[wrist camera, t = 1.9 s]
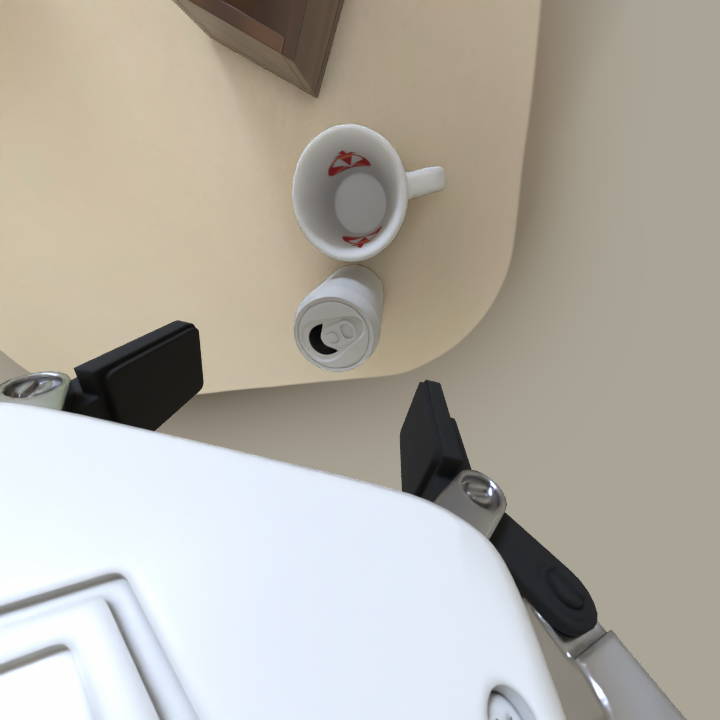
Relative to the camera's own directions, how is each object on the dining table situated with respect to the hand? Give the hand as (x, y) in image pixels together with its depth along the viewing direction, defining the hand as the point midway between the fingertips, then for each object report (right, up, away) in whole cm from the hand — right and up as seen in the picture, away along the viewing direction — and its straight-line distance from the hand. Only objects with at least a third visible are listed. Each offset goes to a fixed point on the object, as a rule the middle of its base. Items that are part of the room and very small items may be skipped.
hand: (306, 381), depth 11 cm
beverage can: (+2, +8, +18) cm, 20 cm away
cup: (+4, +16, +14) cm, 21 cm away
